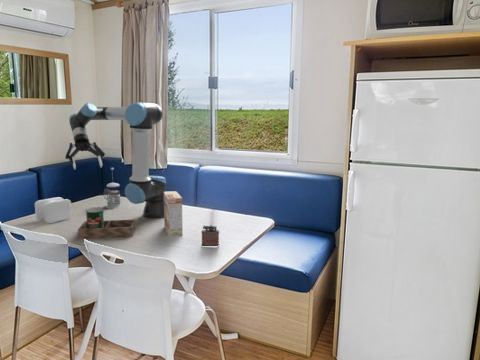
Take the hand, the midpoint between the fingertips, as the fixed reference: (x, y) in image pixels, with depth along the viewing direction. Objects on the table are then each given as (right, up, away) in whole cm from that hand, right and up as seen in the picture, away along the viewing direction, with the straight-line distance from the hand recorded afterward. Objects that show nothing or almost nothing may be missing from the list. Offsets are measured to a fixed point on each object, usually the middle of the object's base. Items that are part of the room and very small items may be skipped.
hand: (88, 167), depth 194 cm
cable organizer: (-20, -29, +4) cm, 36 cm away
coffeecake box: (+48, -34, -10) cm, 60 cm away
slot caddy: (+16, -34, -15) cm, 40 cm away
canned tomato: (+11, -33, -16) cm, 38 cm away
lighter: (+69, -38, -30) cm, 84 cm away
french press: (+2, -24, +32) cm, 40 cm away
